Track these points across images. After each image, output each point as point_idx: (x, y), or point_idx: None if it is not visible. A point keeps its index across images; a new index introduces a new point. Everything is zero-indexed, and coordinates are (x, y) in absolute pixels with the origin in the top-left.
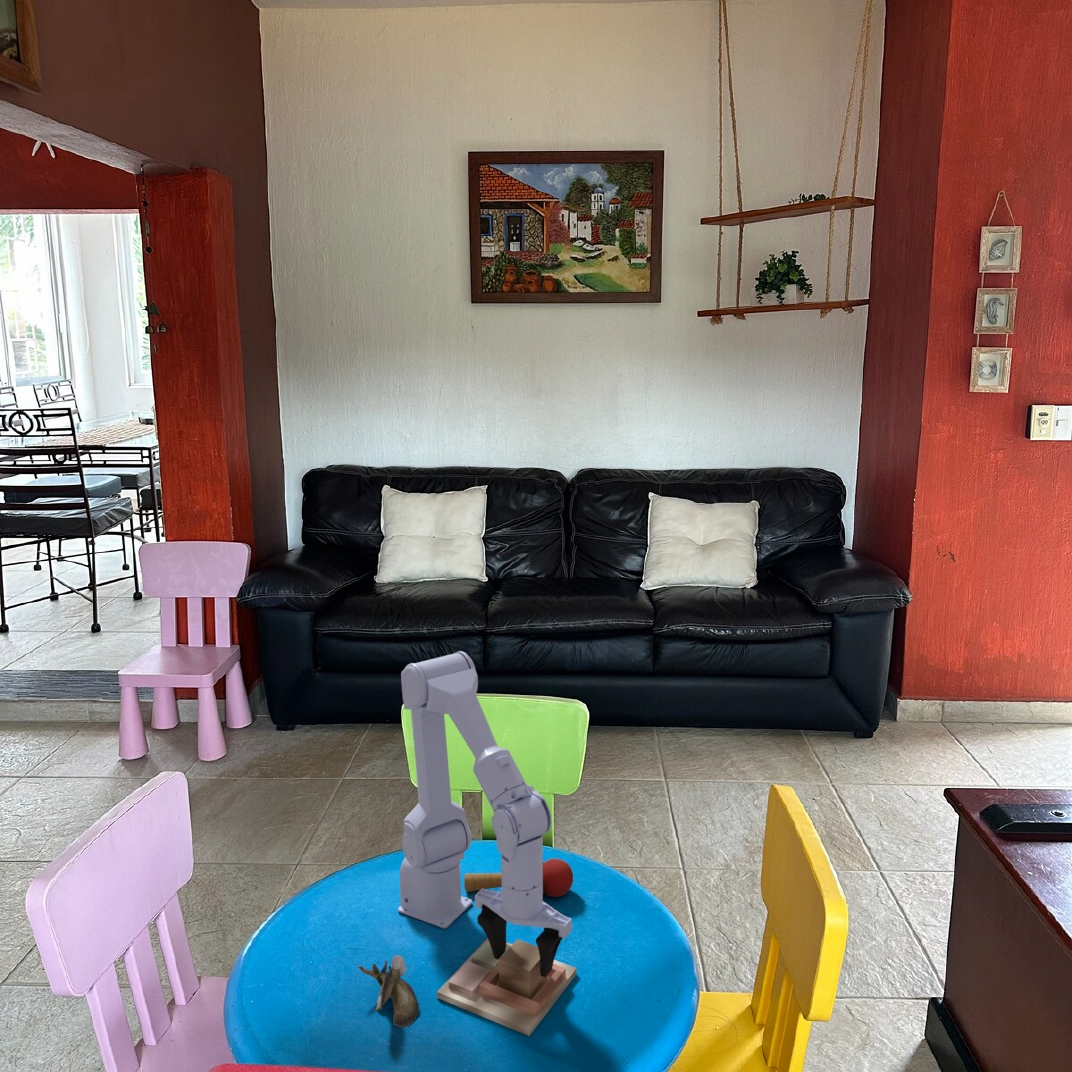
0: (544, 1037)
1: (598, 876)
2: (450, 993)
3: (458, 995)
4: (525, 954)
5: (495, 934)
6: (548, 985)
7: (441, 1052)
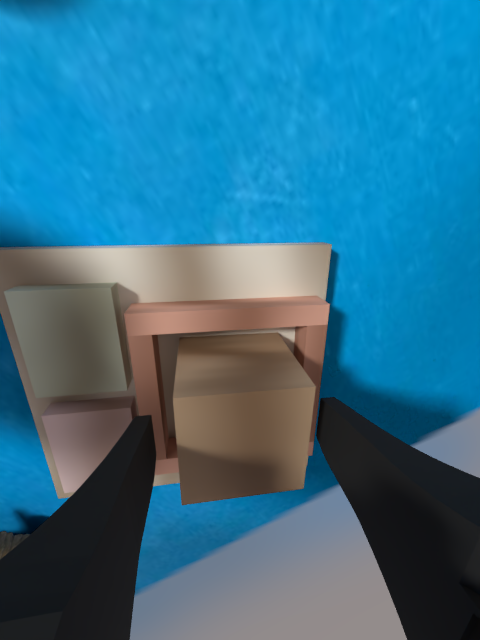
0: None
1: None
2: None
3: None
4: (251, 442)
5: (131, 580)
6: None
7: (181, 551)
